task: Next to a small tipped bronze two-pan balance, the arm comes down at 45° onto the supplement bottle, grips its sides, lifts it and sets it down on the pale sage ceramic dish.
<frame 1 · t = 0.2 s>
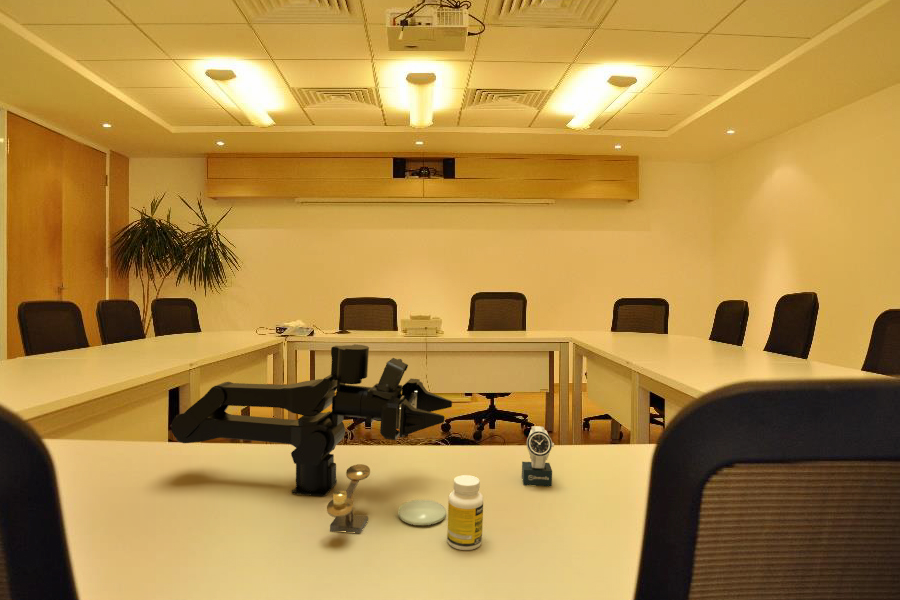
hand: (448, 411, 91), 16 cm above the table, tool horizontal, fingers open, 9 cm apart
dish: (422, 515, 86), on the table
watch: (536, 482, 101), on the table
balance: (349, 526, 82), on the table
supplement bottle: (464, 543, 78), on the table
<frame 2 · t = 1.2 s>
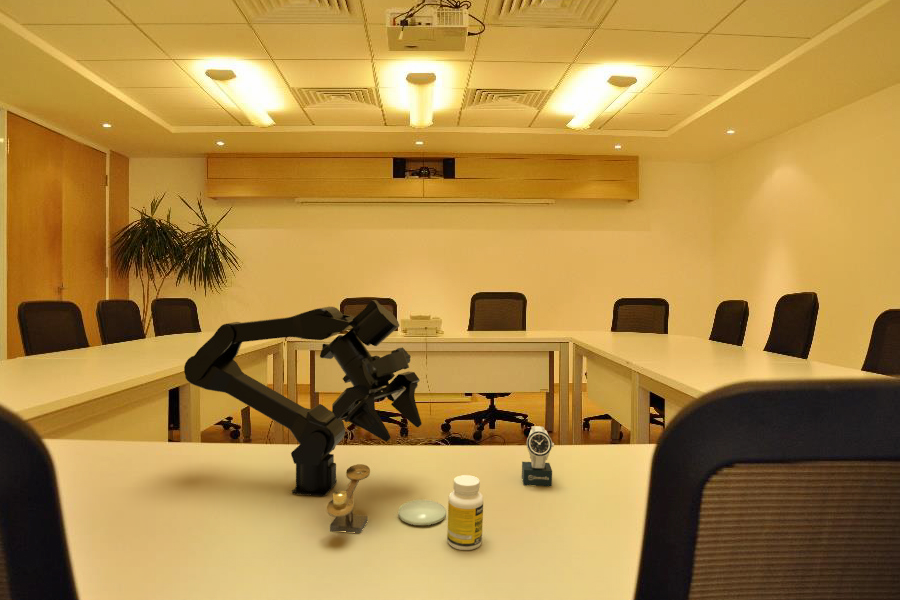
hand: (404, 432, 87), 14 cm above the table, tool tilted 45°, fingers open, 9 cm apart
nothing on the table moved.
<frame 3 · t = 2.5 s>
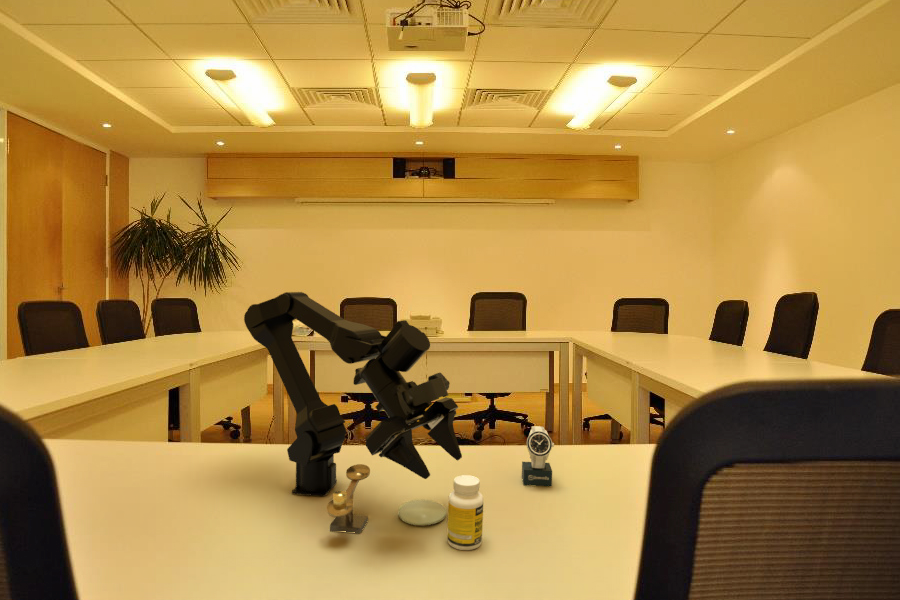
hand: (444, 467, 79), 11 cm above the table, tool tilted 45°, fingers open, 9 cm apart
nothing on the table moved.
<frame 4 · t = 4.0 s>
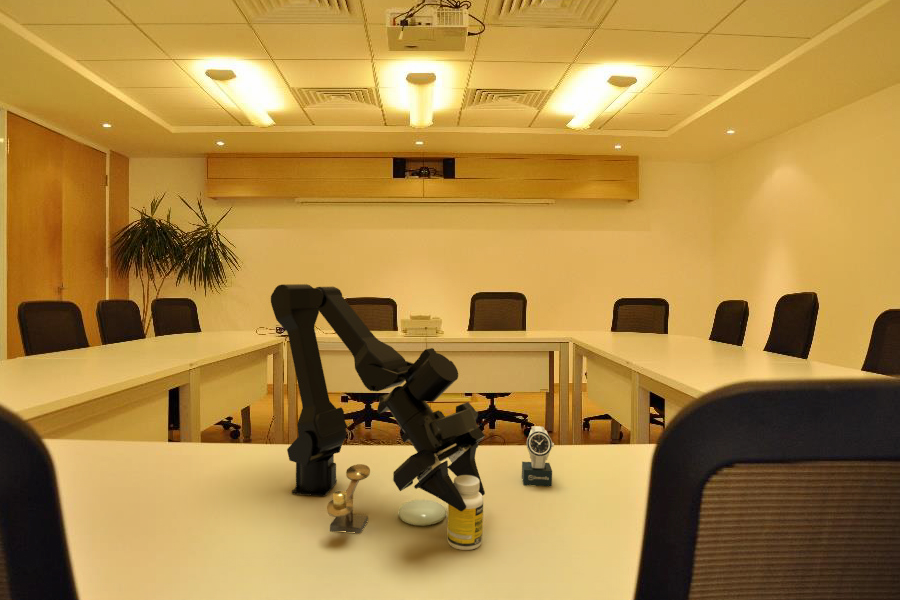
hand: (473, 502, 77), 7 cm above the table, tool tilted 45°, fingers closed on supplement bottle, 5 cm apart
supplement bottle: (464, 543, 78), on the table, touching gripper
everything else where it was.
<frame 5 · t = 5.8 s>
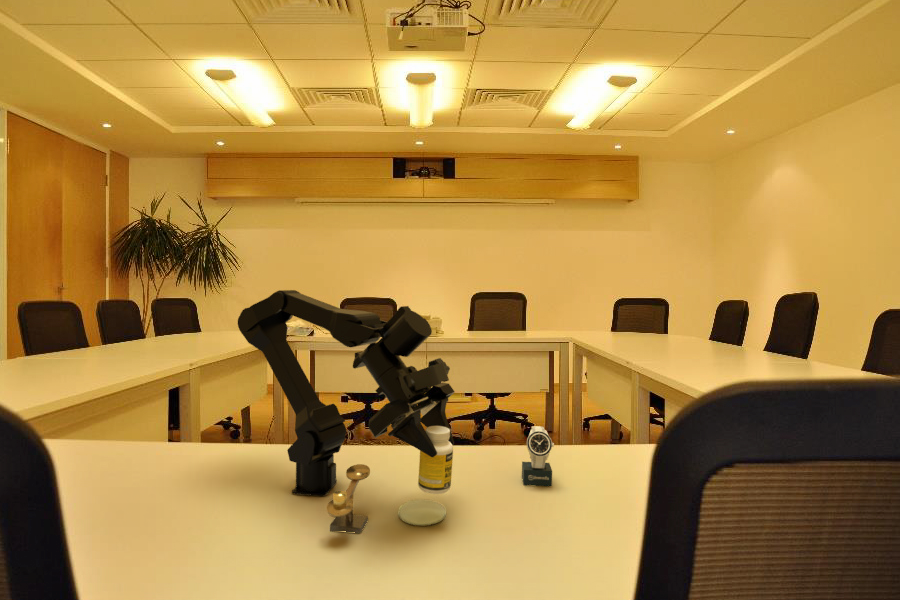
hand: (443, 450, 82), 13 cm above the table, tool tilted 45°, fingers closed on supplement bottle, 5 cm apart
supplement bottle: (434, 488, 83), point 6 cm above the table, touching gripper
everything else where it was.
when the fingers open (9 cm above the table, at t = 7.6 s): supplement bottle drops 1 cm, resting on dish.
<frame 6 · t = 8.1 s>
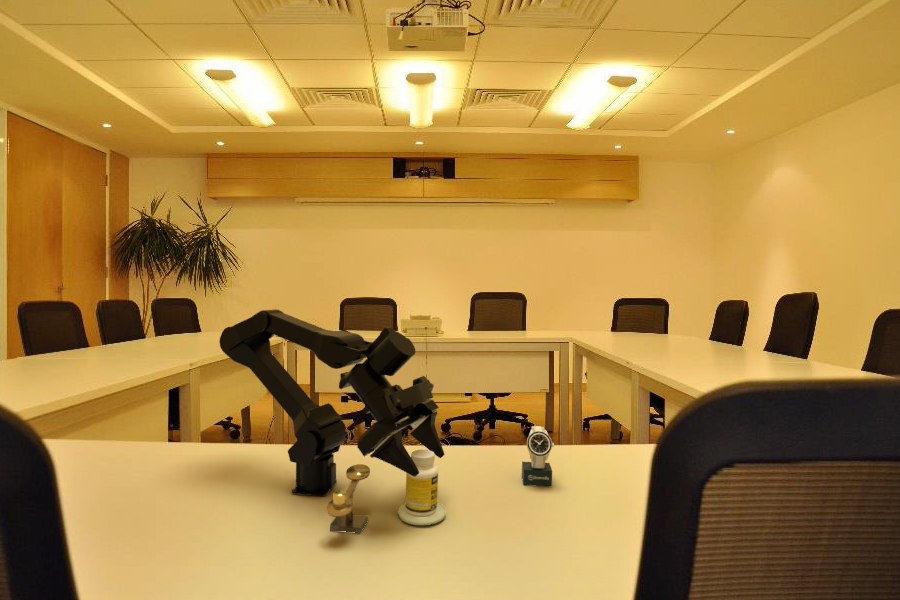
hand: (430, 465, 85), 9 cm above the table, tool tilted 45°, fingers open, 9 cm apart
supplement bottle: (421, 510, 86), point 1 cm above the table, touching dish
everything else where it was.
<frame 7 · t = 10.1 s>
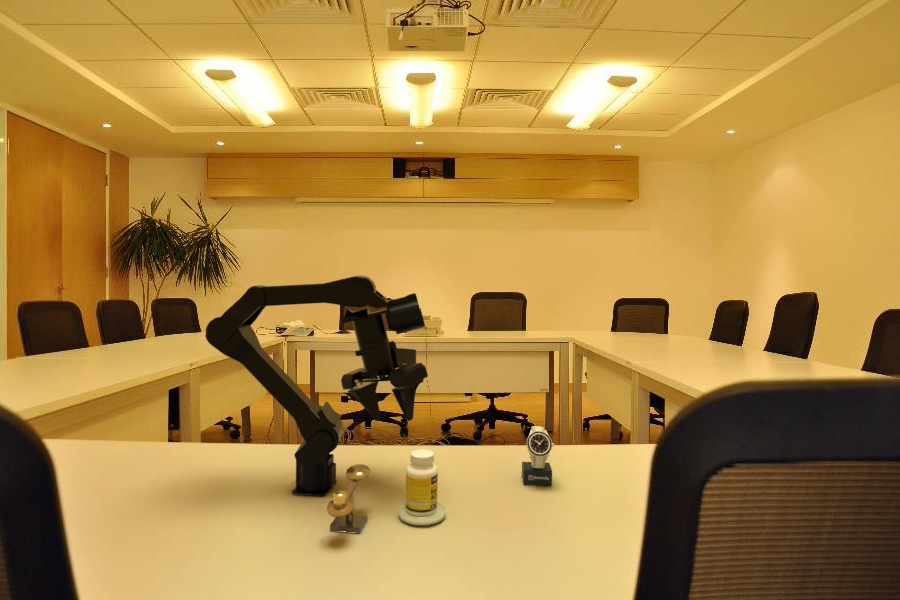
hand: (393, 419, 96), 13 cm above the table, tool tilted 15°, fingers open, 9 cm apart
nothing on the table moved.
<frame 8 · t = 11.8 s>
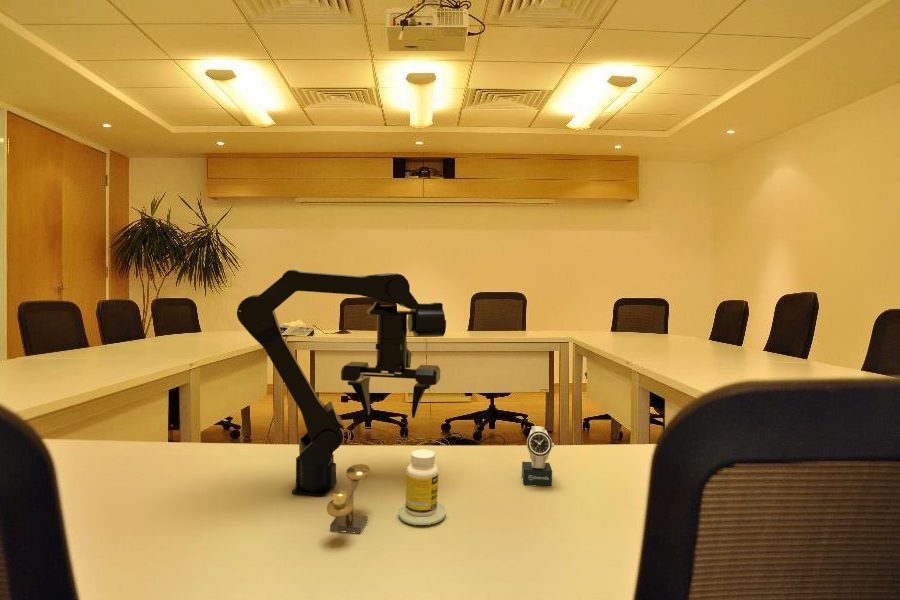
hand: (390, 416, 99), 13 cm above the table, tool pointing down, fingers open, 9 cm apart
nothing on the table moved.
at the end: supplement bottle 0.2 cm off-centre on the dish, point 0.8 cm above the dish's base; supplement bottle tilted 1°; the gripper is holding nothing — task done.
